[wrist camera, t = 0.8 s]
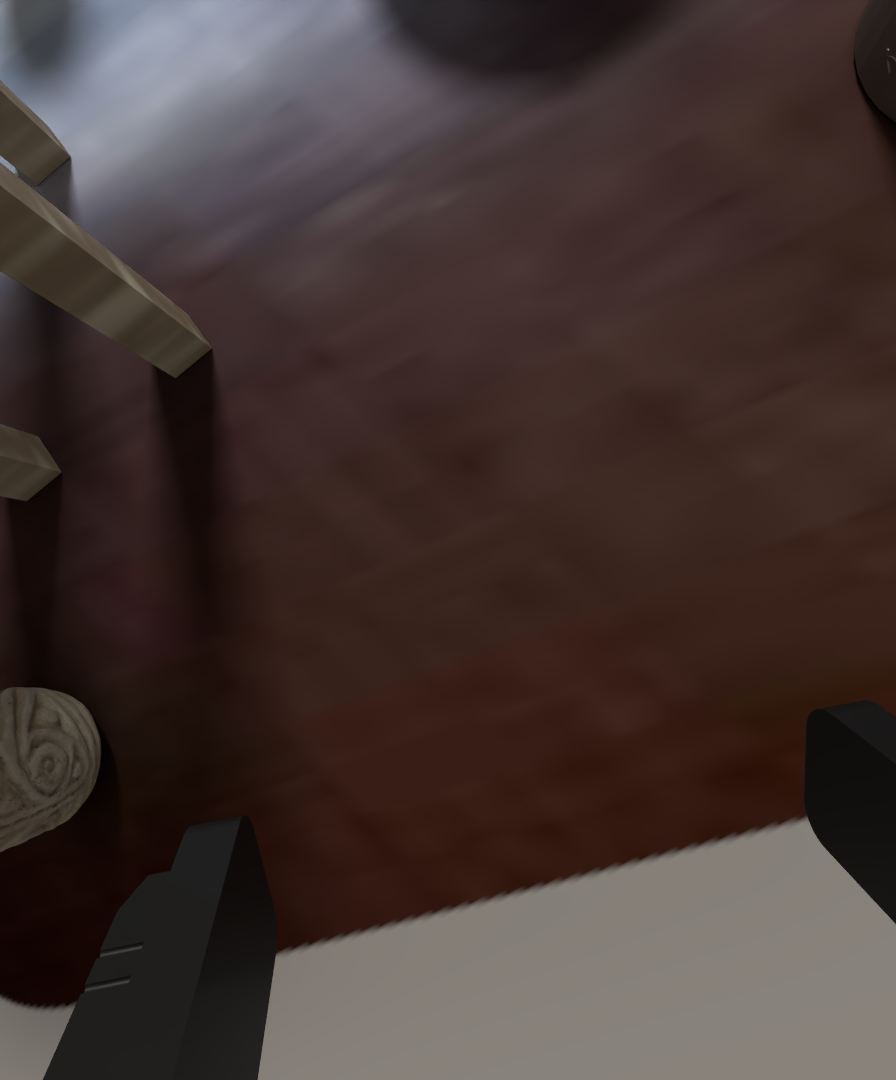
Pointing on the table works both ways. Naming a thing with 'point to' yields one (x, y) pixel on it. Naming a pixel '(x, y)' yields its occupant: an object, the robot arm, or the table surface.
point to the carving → (43, 761)
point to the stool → (71, 282)
